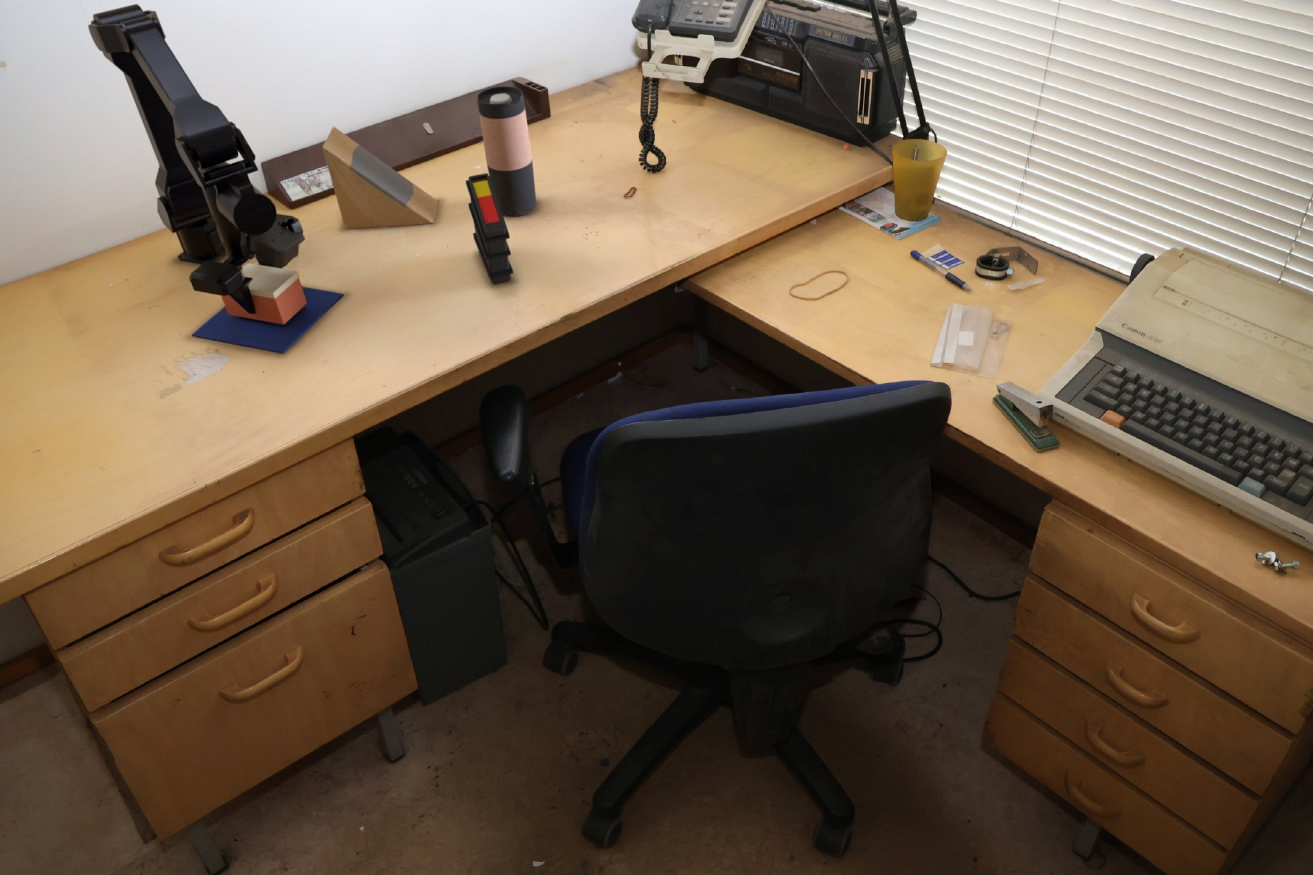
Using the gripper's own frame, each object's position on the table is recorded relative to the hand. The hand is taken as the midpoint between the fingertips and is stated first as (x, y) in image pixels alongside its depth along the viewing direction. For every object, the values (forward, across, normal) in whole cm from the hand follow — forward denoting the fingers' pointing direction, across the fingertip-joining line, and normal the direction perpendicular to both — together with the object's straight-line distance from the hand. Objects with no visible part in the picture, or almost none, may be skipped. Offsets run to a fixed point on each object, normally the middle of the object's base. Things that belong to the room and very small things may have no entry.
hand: (265, 302), depth 151 cm
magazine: (+2, +21, -28) cm, 35 cm away
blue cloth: (+2, 0, 0) cm, 2 cm away
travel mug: (+2, +41, -22) cm, 47 cm away
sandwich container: (+3, +33, -2) cm, 33 cm away
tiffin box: (+1, 0, 0) cm, 1 cm away
